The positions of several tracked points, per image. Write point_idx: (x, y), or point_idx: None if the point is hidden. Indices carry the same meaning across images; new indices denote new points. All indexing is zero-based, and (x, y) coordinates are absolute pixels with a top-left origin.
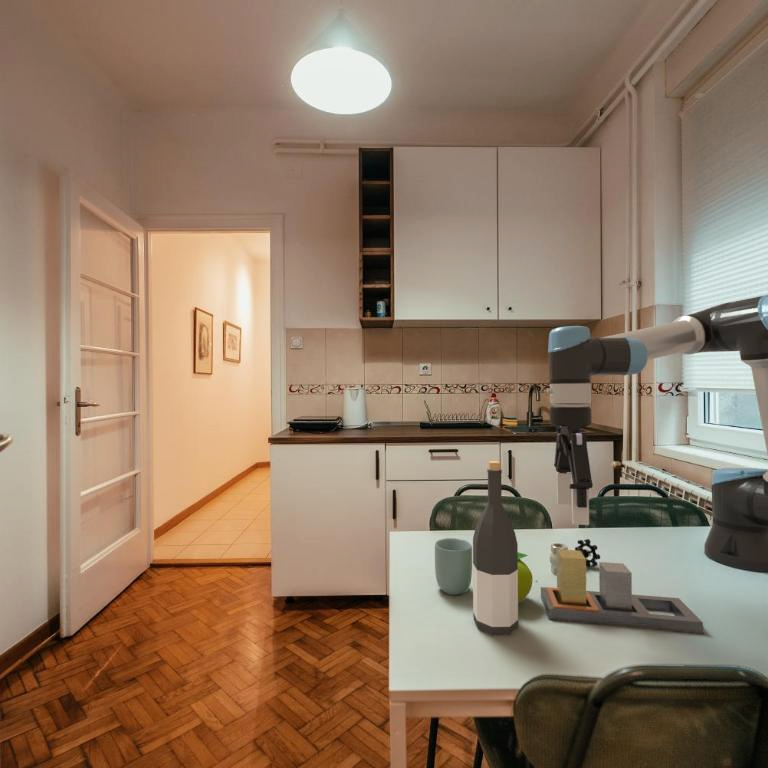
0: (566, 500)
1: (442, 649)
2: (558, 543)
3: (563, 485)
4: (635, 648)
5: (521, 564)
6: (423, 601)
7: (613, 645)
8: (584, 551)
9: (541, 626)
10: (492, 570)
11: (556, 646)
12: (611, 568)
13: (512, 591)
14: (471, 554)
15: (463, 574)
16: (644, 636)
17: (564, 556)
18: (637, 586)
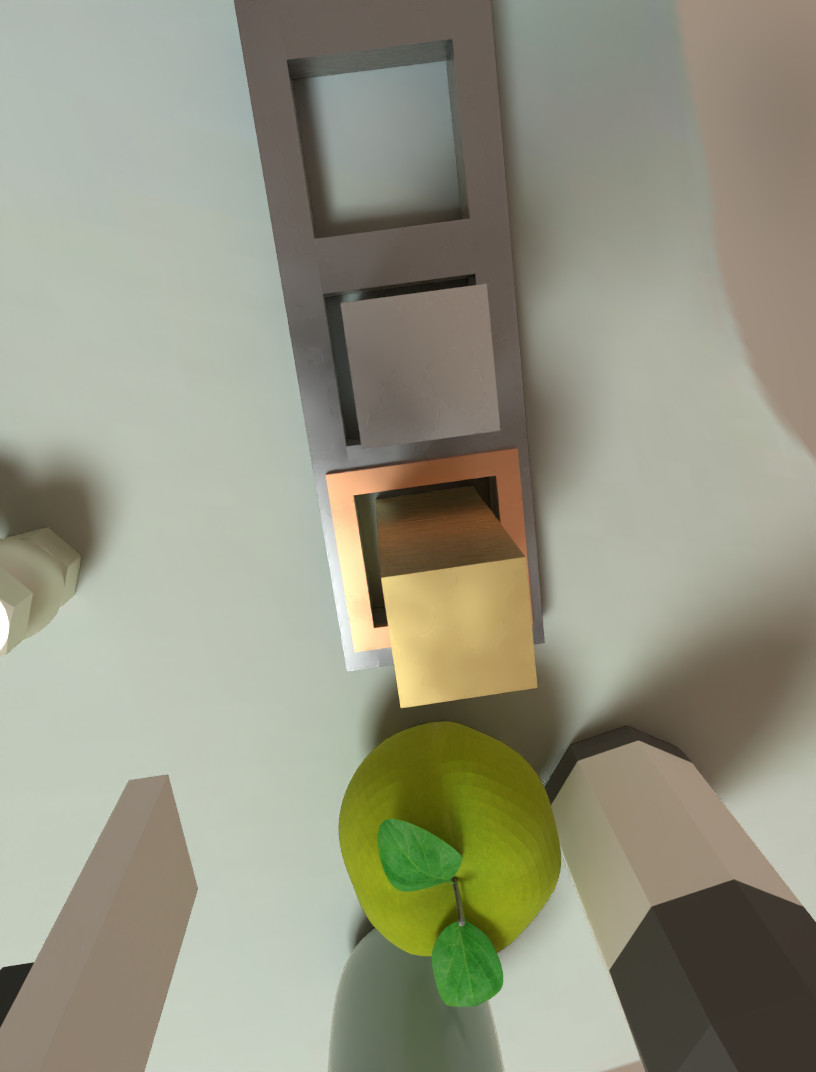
0: (170, 847)
1: None
2: None
3: (115, 1031)
4: (666, 334)
5: (477, 830)
6: (522, 1017)
7: (663, 412)
8: None
9: (591, 649)
10: None
11: (711, 604)
12: (449, 393)
13: (733, 835)
14: (431, 1042)
15: None
16: (568, 277)
17: (515, 671)
18: (39, 181)
